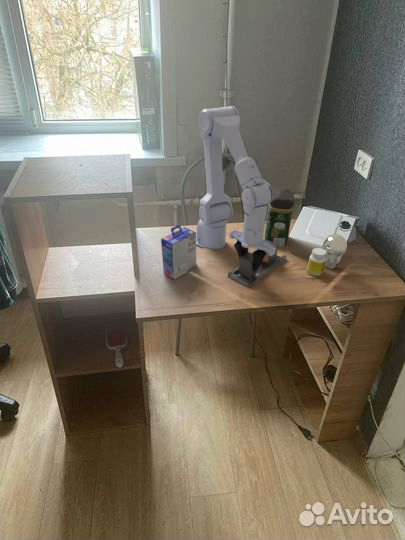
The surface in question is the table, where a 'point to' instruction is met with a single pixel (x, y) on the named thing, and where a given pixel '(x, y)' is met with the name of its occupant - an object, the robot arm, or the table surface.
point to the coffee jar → (279, 217)
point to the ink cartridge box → (178, 251)
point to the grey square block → (246, 265)
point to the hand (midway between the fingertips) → (249, 266)
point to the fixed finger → (270, 259)
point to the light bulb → (334, 249)
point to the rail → (260, 274)
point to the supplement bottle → (316, 262)
